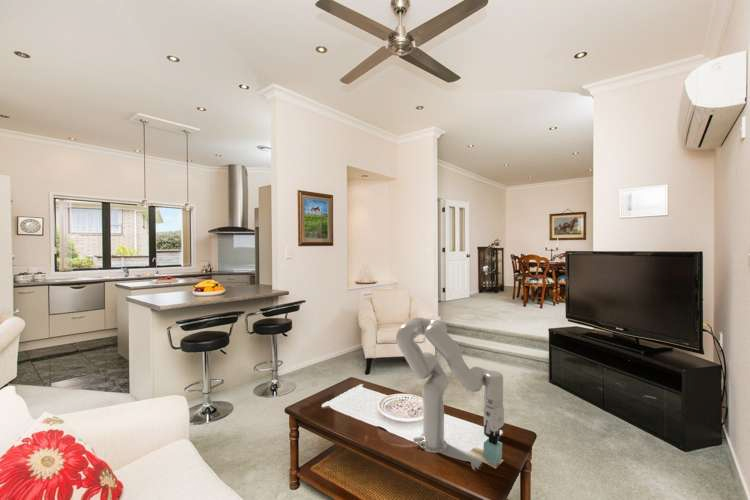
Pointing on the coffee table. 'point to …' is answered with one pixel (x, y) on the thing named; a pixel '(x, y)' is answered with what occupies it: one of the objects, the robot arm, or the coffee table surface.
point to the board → (481, 456)
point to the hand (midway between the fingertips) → (493, 442)
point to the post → (492, 462)
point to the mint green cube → (492, 451)
